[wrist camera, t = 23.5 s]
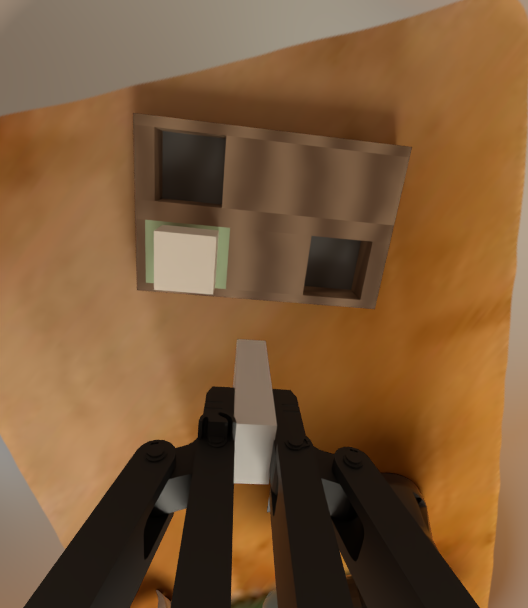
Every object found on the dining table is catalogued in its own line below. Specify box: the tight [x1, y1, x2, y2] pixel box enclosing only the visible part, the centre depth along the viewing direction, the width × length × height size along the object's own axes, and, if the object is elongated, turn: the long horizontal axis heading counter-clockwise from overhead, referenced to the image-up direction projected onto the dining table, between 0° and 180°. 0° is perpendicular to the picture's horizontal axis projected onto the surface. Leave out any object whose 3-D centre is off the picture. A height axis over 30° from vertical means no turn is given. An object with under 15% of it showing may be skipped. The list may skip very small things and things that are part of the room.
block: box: [154, 225, 219, 295], centre depth 37 cm, size 6×6×4 cm
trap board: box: [133, 113, 412, 309], centre depth 40 cm, size 28×18×4 cm, turn 84°
